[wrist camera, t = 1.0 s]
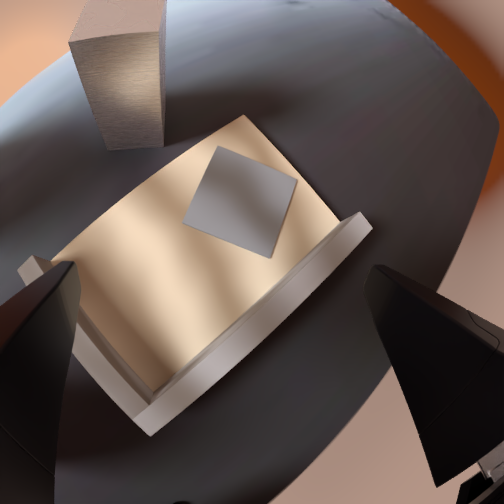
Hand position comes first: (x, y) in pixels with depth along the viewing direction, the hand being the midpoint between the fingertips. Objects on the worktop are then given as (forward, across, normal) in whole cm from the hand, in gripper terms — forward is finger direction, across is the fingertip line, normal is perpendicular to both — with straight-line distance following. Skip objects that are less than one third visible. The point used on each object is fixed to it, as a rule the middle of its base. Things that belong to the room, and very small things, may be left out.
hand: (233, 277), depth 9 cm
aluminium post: (+19, +5, -1) cm, 20 cm away
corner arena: (+12, 0, +7) cm, 13 cm away
